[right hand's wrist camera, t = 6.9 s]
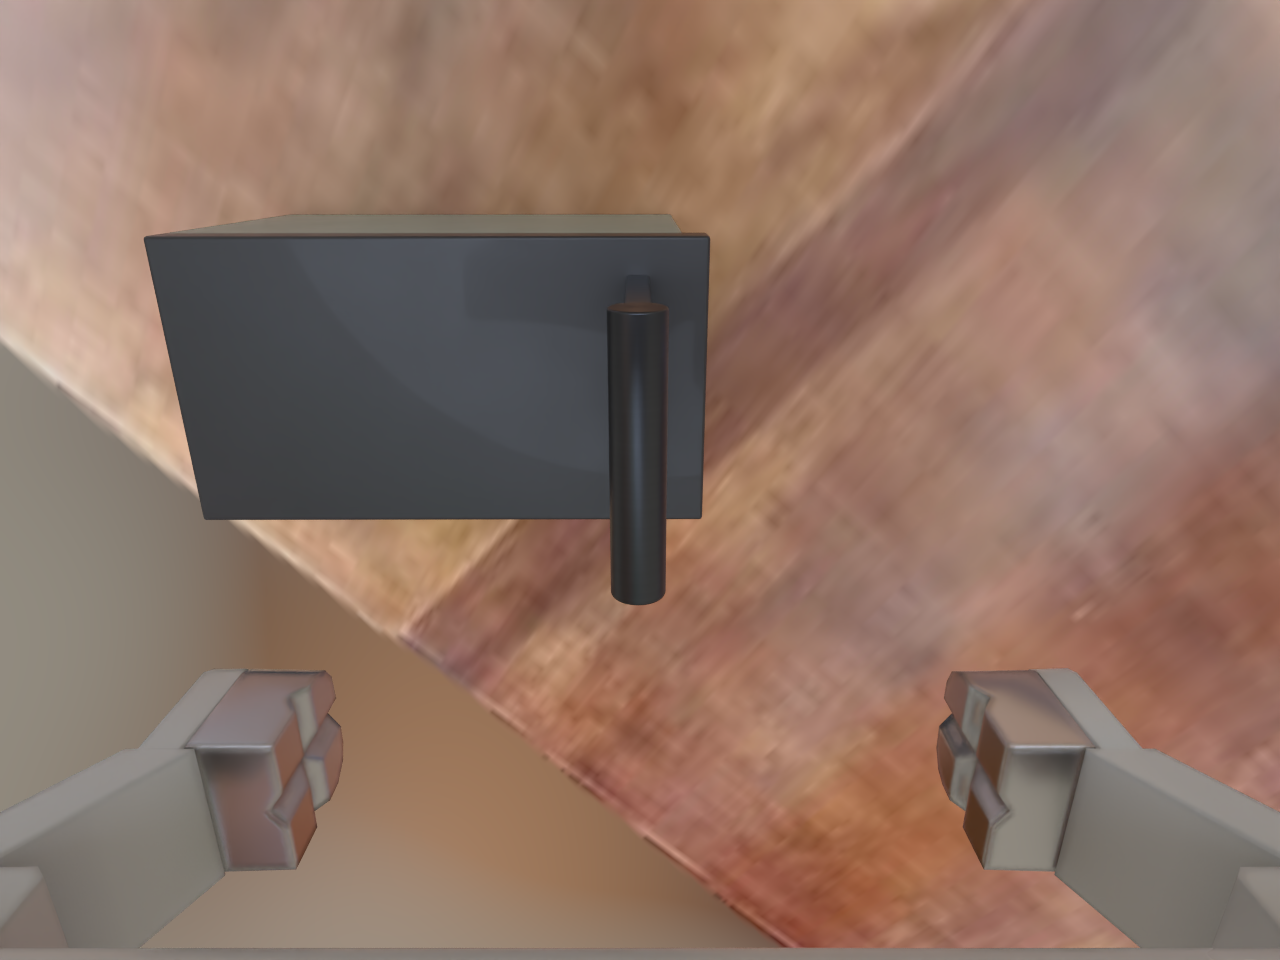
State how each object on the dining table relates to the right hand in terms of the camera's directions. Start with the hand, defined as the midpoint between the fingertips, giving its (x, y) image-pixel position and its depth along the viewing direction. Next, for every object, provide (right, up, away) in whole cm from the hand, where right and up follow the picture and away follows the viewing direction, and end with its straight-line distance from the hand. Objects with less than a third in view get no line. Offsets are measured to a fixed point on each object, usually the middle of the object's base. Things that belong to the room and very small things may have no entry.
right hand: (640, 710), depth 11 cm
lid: (-6, +7, +17) cm, 19 cm away
